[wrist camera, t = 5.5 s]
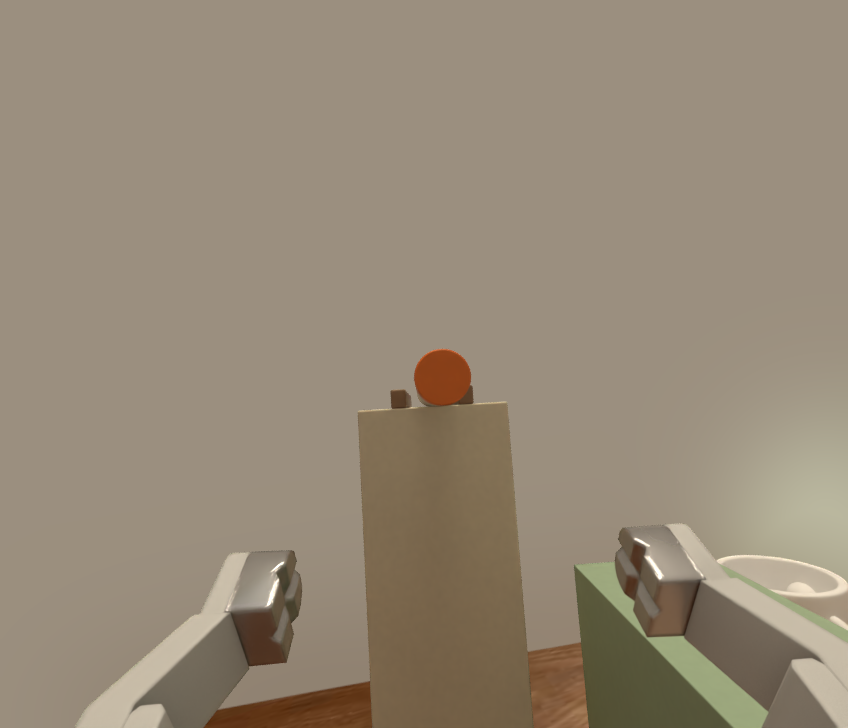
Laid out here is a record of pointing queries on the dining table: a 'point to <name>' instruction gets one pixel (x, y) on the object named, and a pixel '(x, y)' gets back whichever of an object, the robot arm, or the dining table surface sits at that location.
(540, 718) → the dining table surface
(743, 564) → the mug
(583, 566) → the low block
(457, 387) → the marker
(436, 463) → the tall stand
